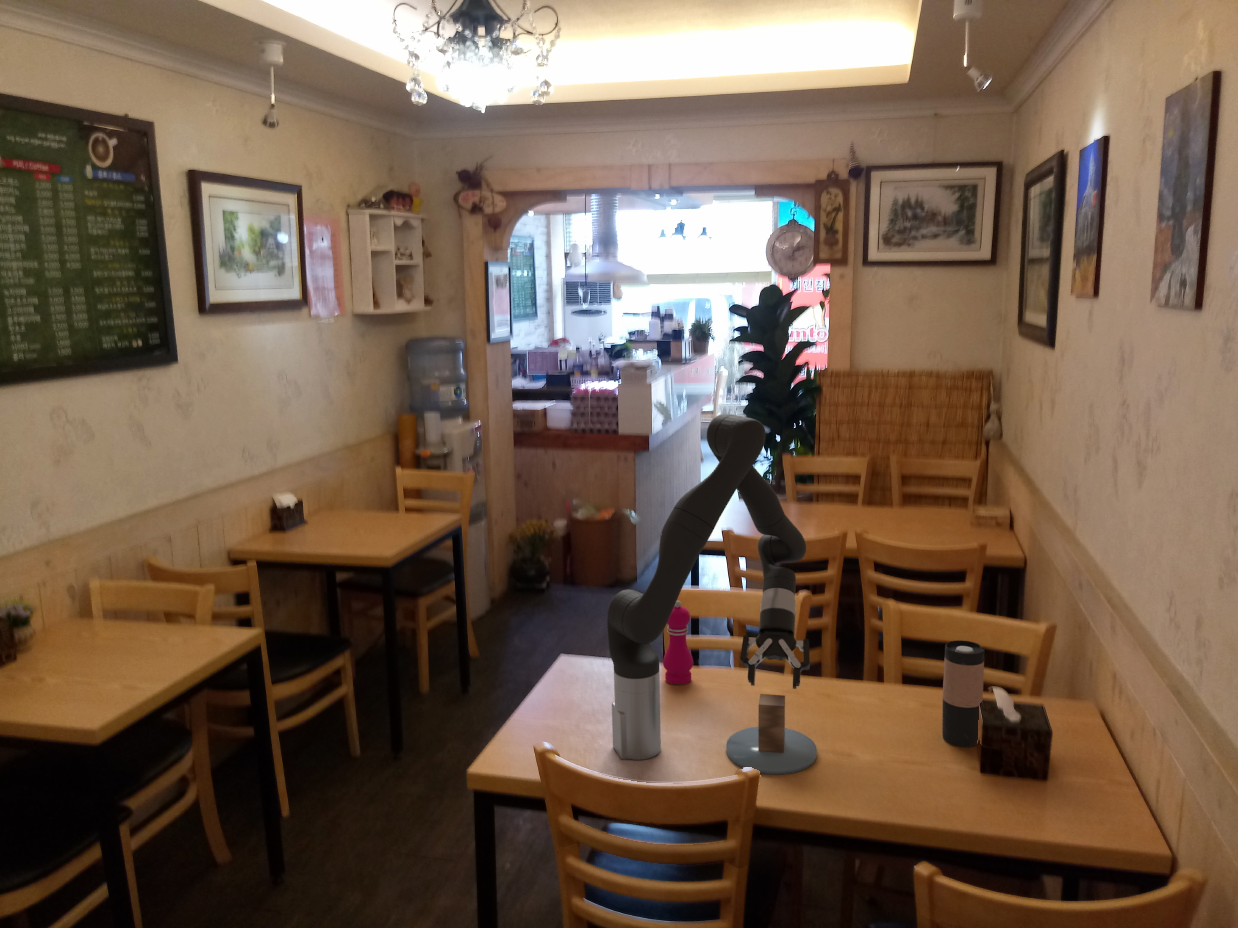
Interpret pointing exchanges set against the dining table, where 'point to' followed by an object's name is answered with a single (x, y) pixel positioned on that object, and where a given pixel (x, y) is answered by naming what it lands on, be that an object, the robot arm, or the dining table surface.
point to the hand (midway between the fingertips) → (773, 685)
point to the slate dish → (794, 759)
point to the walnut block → (771, 723)
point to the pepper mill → (678, 647)
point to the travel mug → (962, 692)
